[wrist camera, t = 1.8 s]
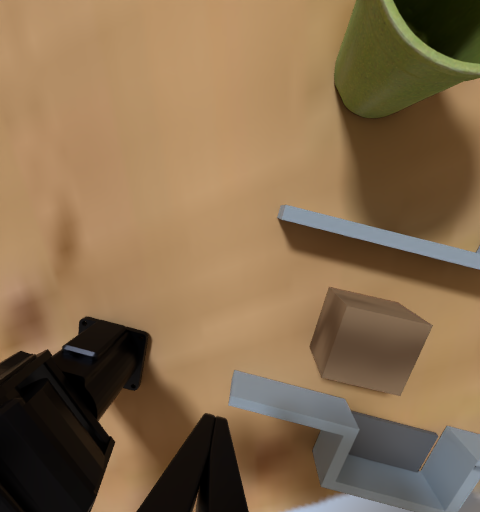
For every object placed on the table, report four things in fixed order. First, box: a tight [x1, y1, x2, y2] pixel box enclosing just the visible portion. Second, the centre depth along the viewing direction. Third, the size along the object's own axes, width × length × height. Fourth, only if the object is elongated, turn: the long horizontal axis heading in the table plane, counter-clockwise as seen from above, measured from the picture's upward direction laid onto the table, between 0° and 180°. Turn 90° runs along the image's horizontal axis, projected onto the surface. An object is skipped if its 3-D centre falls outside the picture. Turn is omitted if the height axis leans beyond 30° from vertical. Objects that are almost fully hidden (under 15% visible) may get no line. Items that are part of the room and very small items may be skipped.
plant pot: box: [334, 0, 480, 118], centre depth 11 cm, size 9×9×9 cm
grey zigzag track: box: [229, 205, 480, 512], centre depth 18 cm, size 29×30×3 cm
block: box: [310, 287, 433, 396], centre depth 18 cm, size 6×6×4 cm
